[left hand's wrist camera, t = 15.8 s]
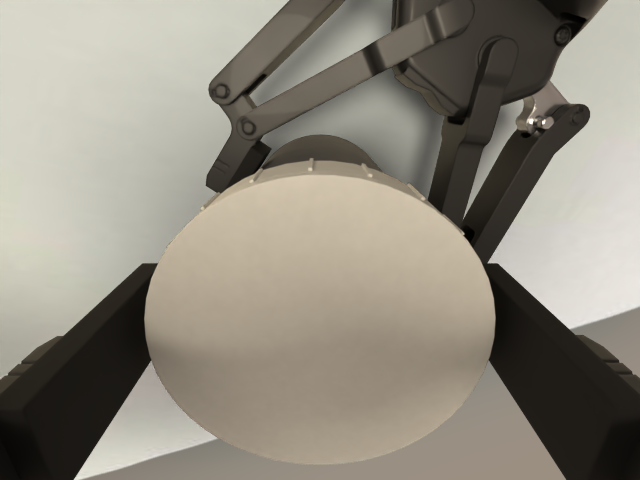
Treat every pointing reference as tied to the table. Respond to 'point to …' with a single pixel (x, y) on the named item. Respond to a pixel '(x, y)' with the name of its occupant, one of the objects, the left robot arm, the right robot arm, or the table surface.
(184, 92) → the table surface
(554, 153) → the right robot arm
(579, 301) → the table surface
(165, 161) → the table surface
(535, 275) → the table surface
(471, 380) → the lid
